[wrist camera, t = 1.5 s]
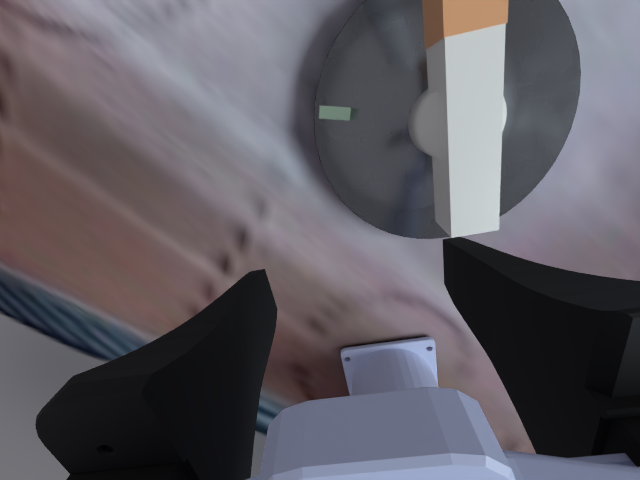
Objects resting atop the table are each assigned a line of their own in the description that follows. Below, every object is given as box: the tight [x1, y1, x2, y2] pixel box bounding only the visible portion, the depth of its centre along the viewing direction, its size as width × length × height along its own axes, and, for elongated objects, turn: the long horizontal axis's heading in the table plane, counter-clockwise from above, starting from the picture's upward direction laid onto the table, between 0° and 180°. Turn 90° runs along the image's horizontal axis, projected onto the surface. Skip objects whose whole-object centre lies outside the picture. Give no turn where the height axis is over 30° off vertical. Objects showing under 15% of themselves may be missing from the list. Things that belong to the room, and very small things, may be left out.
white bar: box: [408, 0, 508, 238], centre depth 16 cm, size 11×4×4 cm, turn 11°
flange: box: [314, 0, 581, 239], centre depth 18 cm, size 15×15×2 cm
